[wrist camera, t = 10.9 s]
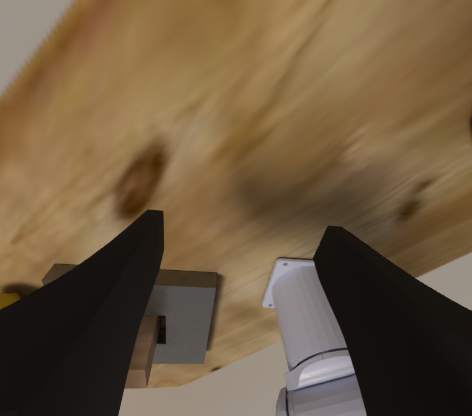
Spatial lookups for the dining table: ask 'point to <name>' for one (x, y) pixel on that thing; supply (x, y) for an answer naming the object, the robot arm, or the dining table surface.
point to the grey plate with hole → (175, 312)
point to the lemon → (8, 299)
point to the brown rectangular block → (143, 352)
